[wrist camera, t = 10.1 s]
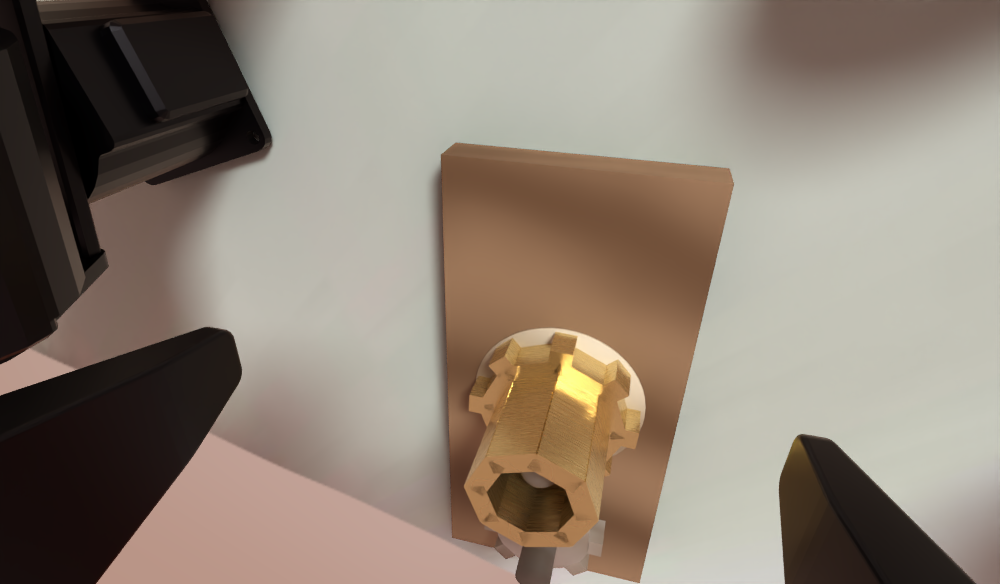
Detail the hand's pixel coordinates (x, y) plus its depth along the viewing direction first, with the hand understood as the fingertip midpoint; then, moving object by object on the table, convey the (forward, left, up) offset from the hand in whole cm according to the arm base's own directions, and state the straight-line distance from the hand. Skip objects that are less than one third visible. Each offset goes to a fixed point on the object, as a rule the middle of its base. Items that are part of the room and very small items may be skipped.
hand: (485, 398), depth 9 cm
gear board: (-3, -8, -12) cm, 15 cm away
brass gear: (-3, -8, -10) cm, 14 cm away
